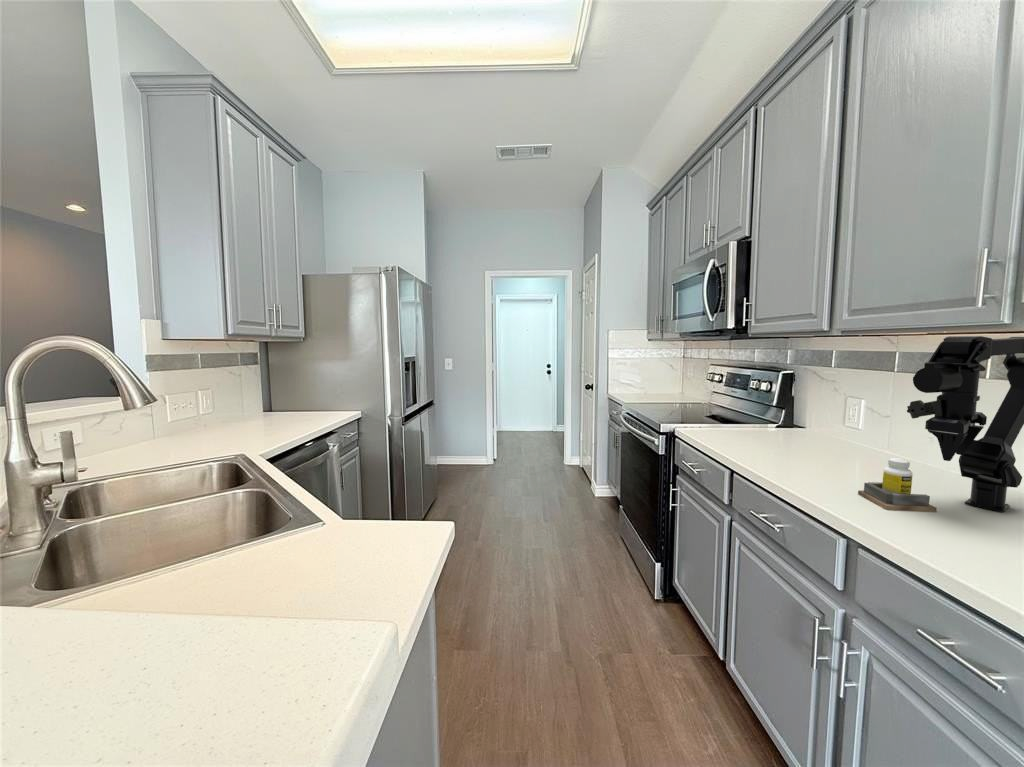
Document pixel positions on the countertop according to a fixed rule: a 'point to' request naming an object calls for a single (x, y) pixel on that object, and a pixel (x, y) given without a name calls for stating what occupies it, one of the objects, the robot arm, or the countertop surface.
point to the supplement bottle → (897, 476)
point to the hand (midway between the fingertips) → (953, 457)
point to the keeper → (896, 499)
